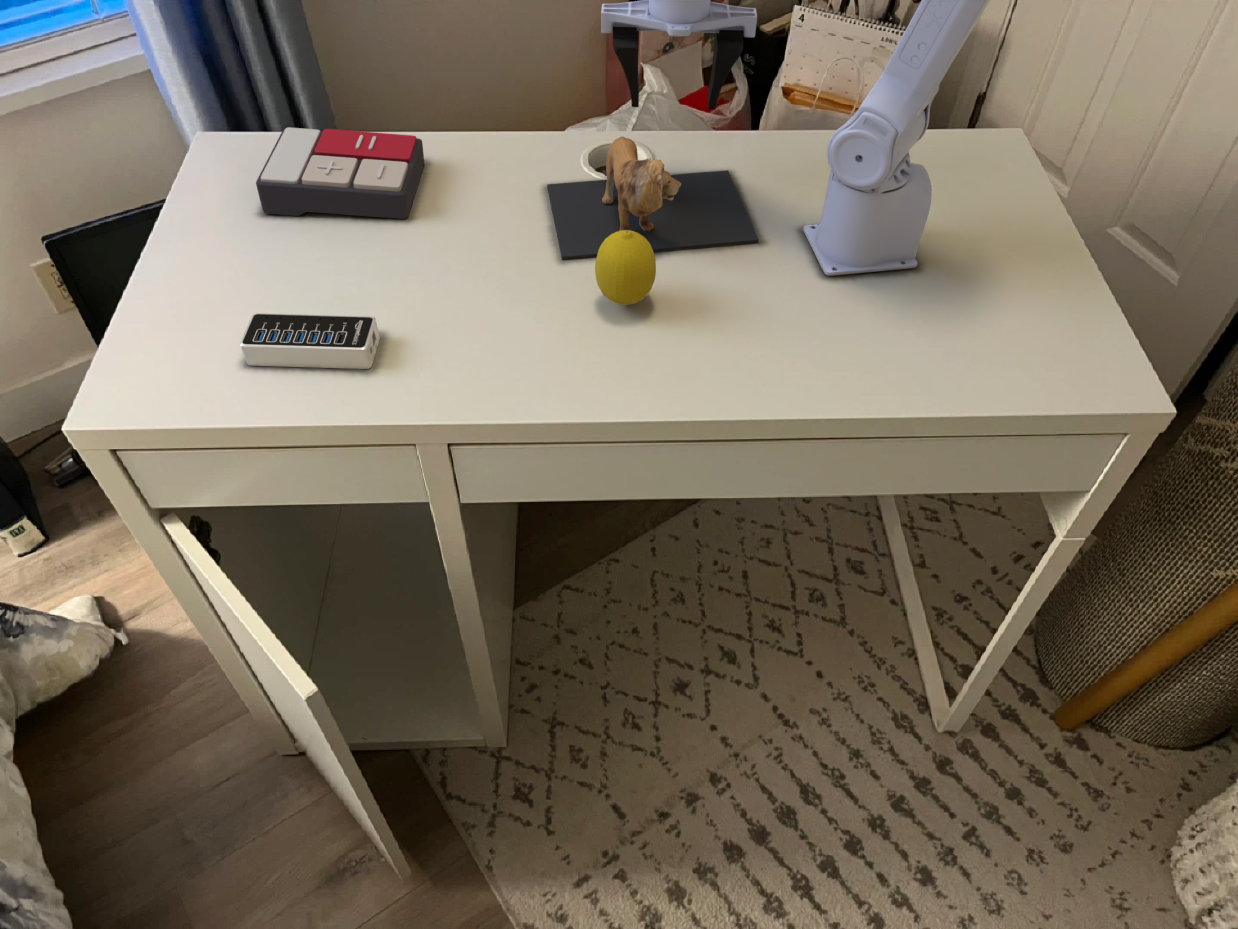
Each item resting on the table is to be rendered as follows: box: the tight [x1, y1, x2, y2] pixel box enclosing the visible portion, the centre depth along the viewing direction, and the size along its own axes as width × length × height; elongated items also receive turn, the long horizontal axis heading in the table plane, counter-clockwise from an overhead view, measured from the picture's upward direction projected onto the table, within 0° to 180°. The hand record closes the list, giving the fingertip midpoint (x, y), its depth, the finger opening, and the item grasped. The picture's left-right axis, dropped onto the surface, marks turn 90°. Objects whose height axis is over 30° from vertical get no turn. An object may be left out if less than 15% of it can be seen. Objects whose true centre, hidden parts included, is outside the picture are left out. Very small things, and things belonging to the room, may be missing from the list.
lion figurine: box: [602, 136, 681, 231], centre depth 94 cm, size 15×5×9 cm, turn 22°
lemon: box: [594, 230, 657, 306], centre depth 86 cm, size 6×6×8 cm
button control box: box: [255, 126, 425, 220], centre depth 99 cm, size 11×4×15 cm
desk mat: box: [546, 169, 760, 261], centre depth 98 cm, size 20×13×1 cm, turn 99°
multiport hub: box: [239, 312, 381, 370], centre depth 83 cm, size 4×11×2 cm, turn 88°
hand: (673, 103), depth 95 cm, fingers open, 7 cm apart
